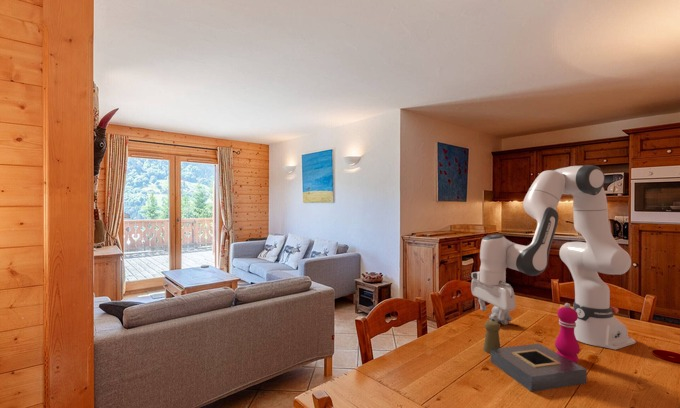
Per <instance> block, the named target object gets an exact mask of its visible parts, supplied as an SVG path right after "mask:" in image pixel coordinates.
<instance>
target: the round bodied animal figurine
mask: <svg viewBox="0 0 680 408" xmlns="http://www.w3.org/2000/svg"><path fill="white" fill-rule="evenodd" d="M499 312H500V311H499V307H497V306H495V305H493V307H492V308H491V313H489V312H488V314H487V315H488V317H489V320H488V321H495V322H497V323H499V324H502V325H503V326H507V325H508V324H509V322H511V321H513V319H512V317H511V315H510V311H507V312H506V313H505V315H504V320H499V319H497V314H499Z"/></svg>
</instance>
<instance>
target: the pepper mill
mask: <svg viewBox="0 0 680 408" xmlns="http://www.w3.org/2000/svg"><path fill="white" fill-rule="evenodd" d="M556 313H557V317H558V324H559V325H560V330H559V334H558V335H557V337H556V338H555V342H554V347H555V348H556V350H557V351H556V353H558V354H559V355H561V356H563V357H565V358H567V359H569V360H571V361H572V362H574V363H576V364H578V362H579V356H578V354H579V353H580V351H581V348H580V344H579V341H578V340H576V337H575V334H574V328H575V327H576V322H575V321H576V320H577V319H578V314H577V312H576V311H575V310H574V308H573V307H571V304H570V303H568V302H566V303H564V306H561V307H559V308H558V310H557V312H556Z"/></svg>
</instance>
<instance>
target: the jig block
mask: <svg viewBox="0 0 680 408" xmlns="http://www.w3.org/2000/svg"><path fill="white" fill-rule="evenodd" d="M490 363H491V364H493V365H494V366H495V367H497V368H499V369H500V370H501V371H502V372H504V373H505V374H506V375H508V376H509V377H511V379H513V380H515V381H516V382H517V383H518V384H520V385H521V386H523V387H524V388H525V389H526V390H528V391H529V392H530V393H532V392H533V393H534V392H539V391H545V390H546V391H547V390H552V389H559V388H560V389H561V388H566V387H573V386H580V385H585V384H587V372H588V371H587V368H585V367H583V366H582V365H580V364H578V363H574V362H572V361H571V360H569V359H567V358H565V357H563V356H561V355H559V354H558V353H557V351H554V350H552V349H550V348H548V347H547V346H544V345H543V344H541V343H532V344H531V343H530V344H525V345H524V344H523V345H515V346H514V345H513V346H506V347H501V348H495V349H491V354H490Z"/></svg>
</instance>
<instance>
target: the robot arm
mask: <svg viewBox="0 0 680 408" xmlns="http://www.w3.org/2000/svg"><path fill="white" fill-rule="evenodd" d="M605 182H606V176H605V173H604V171H603V170H602V169H601V167H599V166H598V165H597V166H596V165H592V164H591V165H590V164H585V165H572V166H571V165H570V166H567V167H560V168H555V169H554V168H553V169H550V170H549V169H547V170H544V171H542V172H540V173H539V175H537V177H536V178H535V180H533V182H532V184H531V185H530V187H529V188H528V190H527V193H526V194H525V196H524V198H523V203H522V207H523V209H524V212H525V213H526V214H527V215H528V216H530V217H531V218H532V219H534V220H536V228H535V231H534V234H533V238H532V239H531V240H532V241H531V242H530V243H529V244H528V245H523V244H518V243H515V242H514V241H513V242H512V241H511V240H509V239H507V238H506V237H505V236H504V235H503V234H487V235H486V236H483V238H482V239H481V243H480V248H479V249H480V250H479V259H480V266H479V271H474V272H471V275H470V276H471V278H472V279H471V285H470V289H471V294H472V296H474V297H476V298H478V299H477V300H478V303H479V306H480V307H479V308H480V311H483V312H486V311H487V309H488V308H487V305H486V303H488V304H491V305H492V306H497V307H499V311H500V312H499V314H497V319H499V320H504V315H505V313H506V312H507V311H509V312H512V311H515V309H516V297H515V295H516V294H515V292H514V288H513V287H512V286H511V284H510V283H507V282H506V278H507V276H506V275H507V271H506V270H507V268H508V269H511V270H515V271H518V272H520V273H523V274H525V275H527V276H530V277H534V276H535V277H536V276H538V275H540V274H542V273H543V272H544V271H545V270H546V269H547V267H548V263H549V257H550V250H551V247H552V243H553V240H554V238H555V234H556V231H557V229H558V224H559V212H558V211H557V209H558V205H559V203H560V201H561V198H562V197H563V196H562V195H571V196H572V198H573V200H572V201H573V202H572V215H573V227H574V229H575V232H577V233H578V234H580V235H581V237H583V239H584V240H585V242H583V241H567V242H564V243H563V244H562V245H561V247H560V248H559V258H560V259H561V261H562V262H563V263H564V264H565V265H566V266H567V268H568V270H569V272H570V274H571V277H572V279H573V282H574V301H573V309H574V310H575V311H576V312H577V314H578V319H577V320H576V321H575V322H576V327H575V328H574V334H575V337H576V340H577V342H580V343H583V344H587V345H590V346H593V347H594V346H595V347H599V348H600V347H601V348H607V349H611V350H615V351H616V350H619V349H623V348H625V347H628V346H631V345H634V344H636V343H637V342H636V340H635V339H634V338H632V337H631V336H629V335H628V328H627V326H626V325H625V324H624V323H623V322H621V321H620V320H619V319H617V318H616V317H615V316H614V313H615V314H618V312H619V308H618V307H614V306H610V305H611V304H610V303H611V302H610V300H611V298H610V296H611V295H610V294H611V291H610V287H609V285H608V284H607V283H606V282H604V281H603V280H602V279H601V277H600V276H599V273H601V274H605V275H624V274H625V273H626V272H628V271H629V270H630V268H631V266H632V258H631V255H630V254H629V253H628V251H626V250H625V249H624V248H622V247H621V245H619V244H618V242H617V241H616V239H615V238H614V236H613V234H612V231H611V228H610V223H609V220H610V219H609V209H608V208H609V207H608V206H609V205H608V200H607V194H606V191H605V187H604V184H605Z"/></svg>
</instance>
